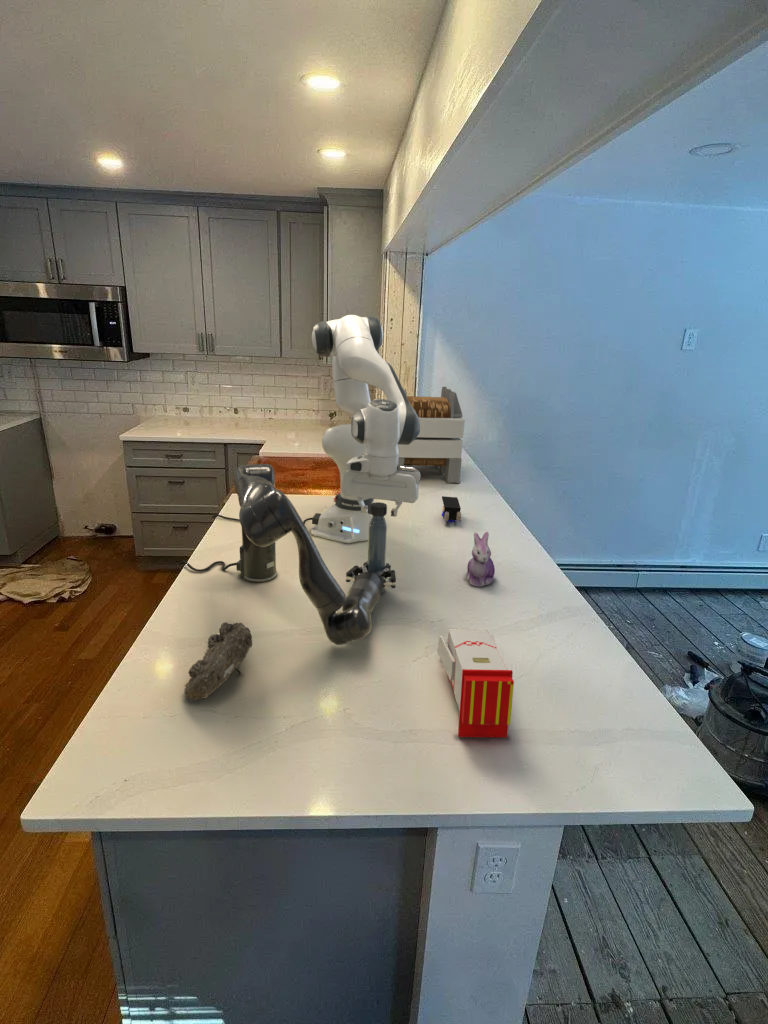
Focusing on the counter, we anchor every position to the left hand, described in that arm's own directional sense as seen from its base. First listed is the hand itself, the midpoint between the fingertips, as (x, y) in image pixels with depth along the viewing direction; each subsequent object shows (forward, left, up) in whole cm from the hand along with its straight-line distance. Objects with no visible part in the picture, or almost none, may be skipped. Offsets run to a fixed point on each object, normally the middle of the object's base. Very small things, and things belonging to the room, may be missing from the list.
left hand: (377, 565), depth 159 cm
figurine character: (+16, +60, -7) cm, 63 cm away
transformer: (-4, +122, -7) cm, 122 cm away
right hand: (0, -3, +16) cm, 16 cm away
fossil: (-24, -48, -7) cm, 54 cm away
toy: (+28, -41, -7) cm, 51 cm away
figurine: (+29, +12, -7) cm, 32 cm away
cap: (0, -3, +19) cm, 19 cm away
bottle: (0, -3, -7) cm, 7 cm away
